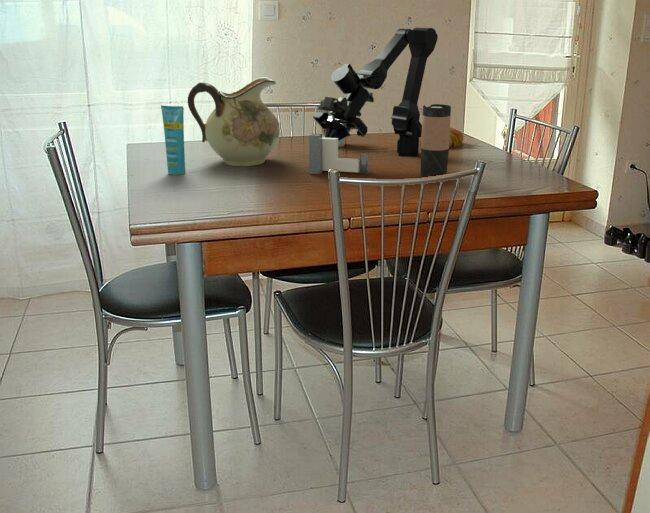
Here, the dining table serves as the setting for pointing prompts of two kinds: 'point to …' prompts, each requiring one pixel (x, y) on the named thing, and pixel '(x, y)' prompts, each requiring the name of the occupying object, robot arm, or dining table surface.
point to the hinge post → (364, 163)
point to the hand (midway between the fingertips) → (324, 146)
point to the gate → (336, 157)
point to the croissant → (455, 138)
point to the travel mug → (435, 139)
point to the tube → (174, 138)
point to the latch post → (315, 153)
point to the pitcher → (238, 123)
